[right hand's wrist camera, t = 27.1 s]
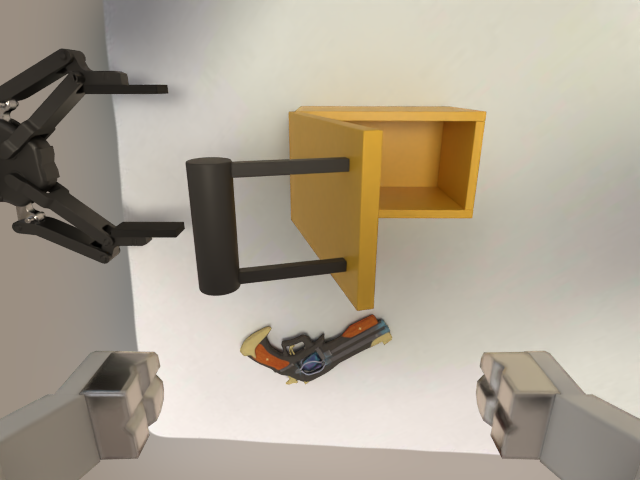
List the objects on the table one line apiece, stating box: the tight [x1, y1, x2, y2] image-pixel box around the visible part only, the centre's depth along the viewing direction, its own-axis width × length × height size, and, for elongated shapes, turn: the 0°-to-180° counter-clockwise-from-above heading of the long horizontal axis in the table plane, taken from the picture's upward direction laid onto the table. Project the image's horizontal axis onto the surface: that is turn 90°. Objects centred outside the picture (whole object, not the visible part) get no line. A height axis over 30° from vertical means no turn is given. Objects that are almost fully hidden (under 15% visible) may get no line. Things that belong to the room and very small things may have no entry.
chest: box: [295, 106, 486, 218], centre depth 43 cm, size 17×10×11 cm, turn 90°
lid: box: [186, 112, 383, 311], centre depth 29 cm, size 18×10×9 cm
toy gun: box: [240, 315, 392, 384], centre depth 56 cm, size 3×19×10 cm
